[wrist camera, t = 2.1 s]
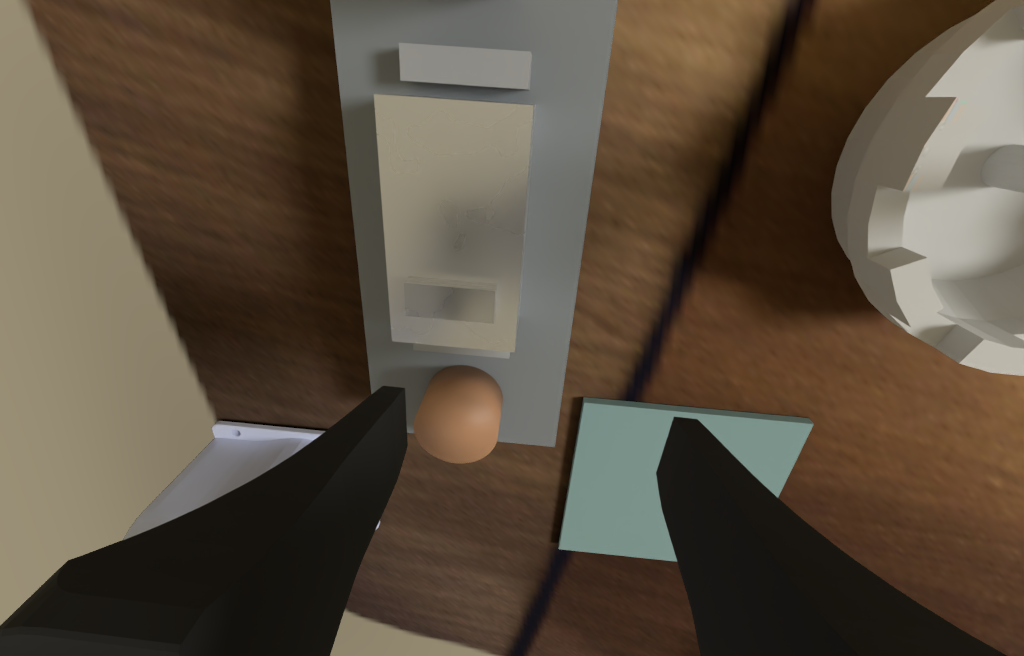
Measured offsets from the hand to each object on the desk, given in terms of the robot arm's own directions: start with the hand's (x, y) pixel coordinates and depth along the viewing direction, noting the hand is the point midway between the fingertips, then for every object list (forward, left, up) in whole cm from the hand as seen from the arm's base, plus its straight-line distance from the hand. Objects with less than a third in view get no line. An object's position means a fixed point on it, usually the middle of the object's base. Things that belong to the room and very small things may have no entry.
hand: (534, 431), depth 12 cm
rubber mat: (+9, -12, -10) cm, 18 cm away
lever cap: (-3, +4, -7) cm, 9 cm away
